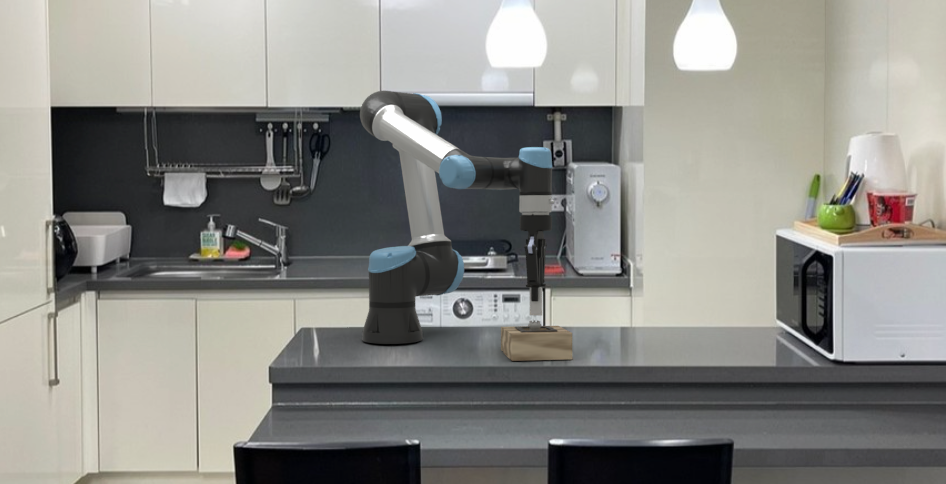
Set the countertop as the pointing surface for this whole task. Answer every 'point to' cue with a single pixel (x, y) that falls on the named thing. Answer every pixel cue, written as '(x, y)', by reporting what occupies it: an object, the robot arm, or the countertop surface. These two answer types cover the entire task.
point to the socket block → (536, 343)
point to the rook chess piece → (534, 325)
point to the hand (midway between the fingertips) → (536, 315)
